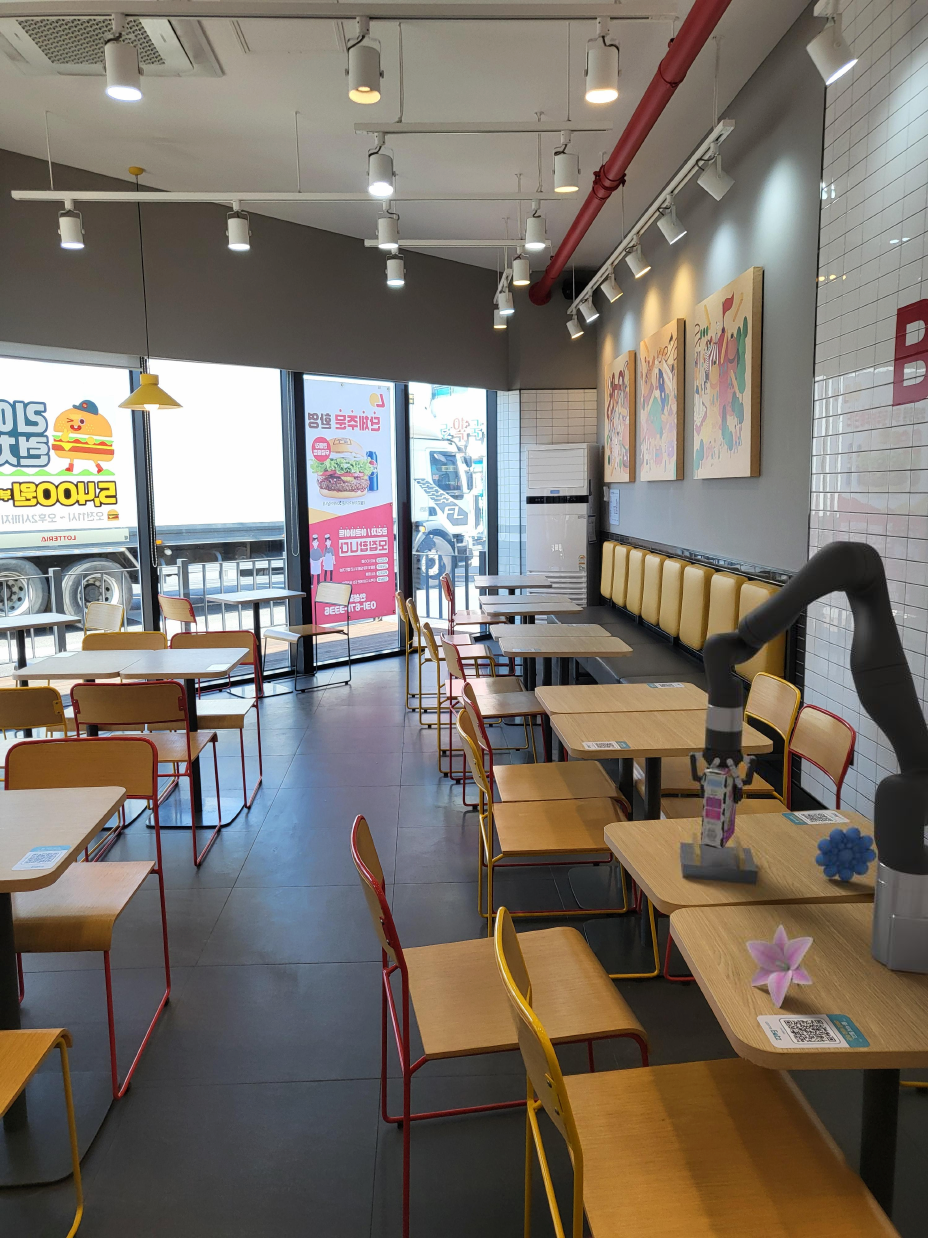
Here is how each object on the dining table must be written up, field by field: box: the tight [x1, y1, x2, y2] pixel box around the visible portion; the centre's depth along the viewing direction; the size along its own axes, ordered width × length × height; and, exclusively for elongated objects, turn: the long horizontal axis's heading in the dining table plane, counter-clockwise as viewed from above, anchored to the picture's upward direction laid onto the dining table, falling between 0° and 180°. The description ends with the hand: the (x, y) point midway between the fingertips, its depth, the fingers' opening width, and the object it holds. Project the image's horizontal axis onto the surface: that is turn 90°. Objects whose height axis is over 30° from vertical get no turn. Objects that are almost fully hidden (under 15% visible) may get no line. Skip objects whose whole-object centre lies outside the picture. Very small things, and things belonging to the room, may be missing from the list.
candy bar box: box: [700, 764, 740, 849], centre depth 178 cm, size 11×5×16 cm, turn 149°
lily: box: [745, 924, 814, 1009], centre depth 133 cm, size 12×12×10 cm
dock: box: [679, 832, 758, 885], centre depth 179 cm, size 12×15×6 cm
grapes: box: [814, 826, 878, 882], centre depth 174 cm, size 12×7×12 cm, turn 69°
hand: (720, 801), depth 177 cm, fingers closed on candy bar box, 6 cm apart
